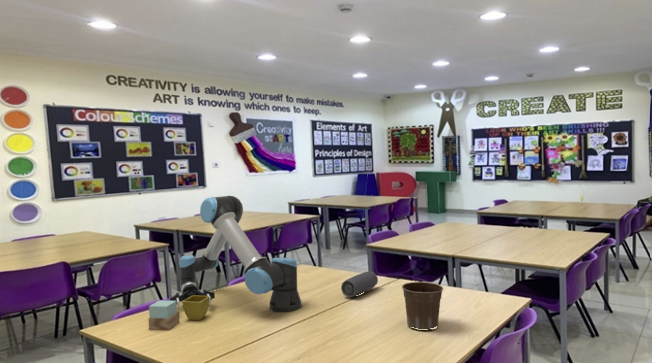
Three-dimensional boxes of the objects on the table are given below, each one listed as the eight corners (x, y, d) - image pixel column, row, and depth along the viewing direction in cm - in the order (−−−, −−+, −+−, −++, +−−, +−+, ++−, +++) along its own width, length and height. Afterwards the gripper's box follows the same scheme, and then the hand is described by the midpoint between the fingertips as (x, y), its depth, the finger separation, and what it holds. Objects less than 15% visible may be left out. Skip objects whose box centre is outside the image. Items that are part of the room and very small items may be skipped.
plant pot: (445, 321, 185) (444, 282, 184) (442, 335, 170) (441, 293, 169) (406, 318, 190) (405, 280, 190) (399, 331, 175) (398, 290, 175)
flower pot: (201, 322, 192) (200, 301, 191) (182, 321, 194) (182, 301, 193) (210, 315, 200) (209, 295, 200) (192, 314, 202) (192, 295, 202)
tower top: (176, 312, 191) (176, 300, 191) (167, 318, 184) (166, 306, 183) (159, 311, 193) (159, 300, 193) (149, 318, 185) (149, 306, 185)
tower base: (179, 323, 192) (179, 311, 192) (169, 330, 183) (168, 318, 183) (159, 322, 193) (159, 311, 193) (149, 330, 185) (148, 318, 184)
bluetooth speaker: (363, 287, 240) (363, 269, 240) (379, 289, 235) (378, 271, 234) (340, 298, 222) (339, 278, 222) (356, 301, 216) (355, 280, 216)
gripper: (215, 295, 225) (222, 307, 206) (163, 302, 216) (165, 315, 196) (215, 280, 225) (222, 290, 205) (162, 286, 216) (164, 298, 196)
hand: (194, 302), depth 201 cm, fingers open, 13 cm apart
